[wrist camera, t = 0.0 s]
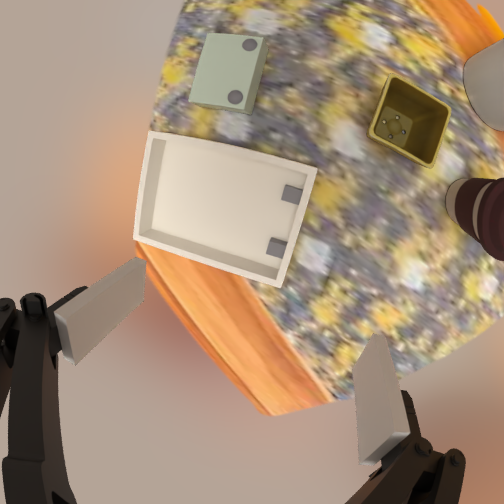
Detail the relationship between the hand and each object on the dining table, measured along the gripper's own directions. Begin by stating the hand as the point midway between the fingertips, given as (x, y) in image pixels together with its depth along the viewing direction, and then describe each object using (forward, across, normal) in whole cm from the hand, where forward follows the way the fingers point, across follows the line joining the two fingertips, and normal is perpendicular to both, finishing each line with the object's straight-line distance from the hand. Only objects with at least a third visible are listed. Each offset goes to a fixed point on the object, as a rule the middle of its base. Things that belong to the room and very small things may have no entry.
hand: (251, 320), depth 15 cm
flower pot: (+28, +11, +17) cm, 35 cm away
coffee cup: (+28, +26, +11) cm, 40 cm away
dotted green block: (+28, -13, +18) cm, 36 cm away
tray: (+28, -10, -1) cm, 30 cm away
